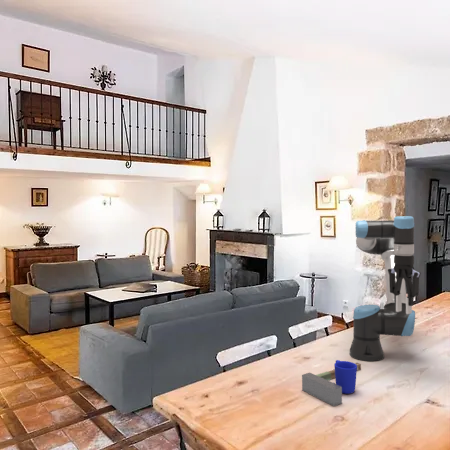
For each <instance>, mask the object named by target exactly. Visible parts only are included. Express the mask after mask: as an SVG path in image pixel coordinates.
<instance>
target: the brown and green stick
mask: <svg viewBox="0 0 450 450" xmlns="http://www.w3.org/2000/svg"><path fill="white" fill-rule="evenodd" d="M353 363H354V364H356V365H357V372H359V371H361V370H362V365H361V363H359V362H353ZM316 375H317V376H319V377H321V378H323V379H325V380H328V381H331V380H333V379H336V378H335V368H333V370H332V369H331V370H328V371H324V372H321V373H318V374H316Z"/></svg>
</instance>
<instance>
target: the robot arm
mask: <svg viewBox="0 0 450 450" xmlns="http://www.w3.org/2000/svg"><path fill="white" fill-rule="evenodd" d="M355 238H356V239H355V244H356V246H357V248H358V249H359V250H361V251H362V252H364V253H366V254H370V255H377V256H378V255H380V258H381V260H382V261H384V271H385V272H384V273H385V288H386V291H385V292H386V302H385V304H384V305H383V308H381V306H379V305H377V304H363V305H358V306H356V307H355V308H354V309H353V314H352V315H353V316H352V319H353V331H352V332H353V337H352V338H353V339H352V341H351V345H350V347H349V356H350V357H352V358H353V359H356V360H358V361H359V360H360V361H365V362H377V361H382V360H384V357H385V353H384V350H383V347H382V344H381V343H382V342H381V337H380V335H383V336H394V337H395V336H398V337H411V336H413V334H414V331H415V324H416V311H415V310H413V309H412V308H413V306H414V299H415V298H416V297H419V290H420V277H421V274H422V273H421V271H417V270H415V268H414V265H415V256H414V254H415V219H414V217H413V216H411V215H408V216H407V215H405V216H403V215H402V216H401V215H399V216H398V215H397V216H395V217H394V218H393V220H391V219H390V220H366V219H363V220H357V221H355Z"/></svg>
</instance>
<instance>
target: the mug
mask: <svg viewBox="0 0 450 450" xmlns="http://www.w3.org/2000/svg"><path fill="white" fill-rule="evenodd" d="M354 363H355V362H351V361H349V360H348V361H347V360H339V359H336V360H335V363H334V369H335V378H334V379H335V384H337V385H339V386H341V387H342V394H348V395H349V394H353V393H354V392H355V390H356V383H357V372H358V371H357V365H356V364H354Z"/></svg>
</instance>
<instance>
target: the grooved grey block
mask: <svg viewBox="0 0 450 450" xmlns="http://www.w3.org/2000/svg"><path fill="white" fill-rule="evenodd" d="M301 390H302V391H303V392H305V393H306V394H308V395H311V396H312V397H315V398H316V399H318V400H319V401H322V402H324V403H326V404H328V405H331V406H332V407H336V406H339V405H341V404H343V393H342V387H341V386H339V385H337V384H336V383H334V382H332V381H331V380H325V379H323V378H321V377H319V376H317V374H314V373H312V372H307V373H304V374H301Z"/></svg>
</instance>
